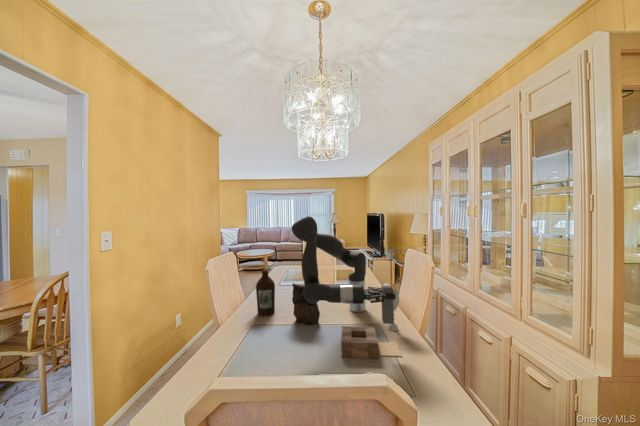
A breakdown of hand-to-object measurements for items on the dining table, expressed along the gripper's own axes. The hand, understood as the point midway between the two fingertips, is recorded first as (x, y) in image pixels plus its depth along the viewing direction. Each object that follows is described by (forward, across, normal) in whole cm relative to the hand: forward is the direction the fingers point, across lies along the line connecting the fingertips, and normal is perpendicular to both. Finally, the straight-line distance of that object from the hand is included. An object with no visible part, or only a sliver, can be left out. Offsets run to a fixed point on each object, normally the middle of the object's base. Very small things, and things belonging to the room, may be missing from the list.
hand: (394, 294), depth 105 cm
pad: (-2, 0, +22) cm, 23 cm away
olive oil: (-66, +36, +23) cm, 78 cm away
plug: (-3, 0, +11) cm, 11 cm away
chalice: (+3, +19, +22) cm, 30 cm away
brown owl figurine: (-39, +27, +23) cm, 53 cm away
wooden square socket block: (-14, 0, +22) cm, 27 cm away
